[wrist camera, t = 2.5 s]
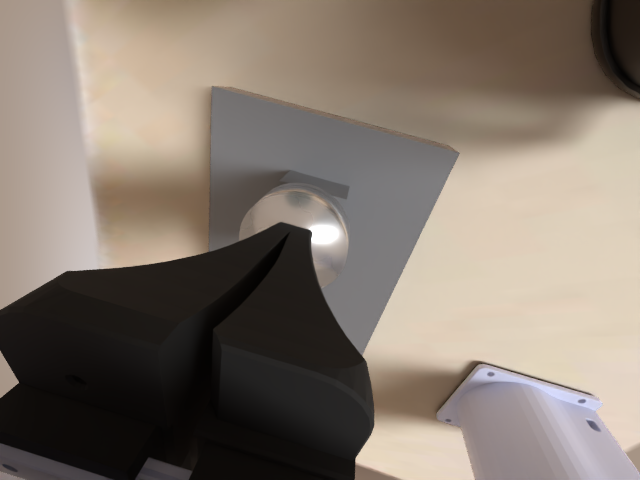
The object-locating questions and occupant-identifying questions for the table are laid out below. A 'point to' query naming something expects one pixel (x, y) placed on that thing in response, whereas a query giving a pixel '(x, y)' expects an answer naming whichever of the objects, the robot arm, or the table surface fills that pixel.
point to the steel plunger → (305, 223)
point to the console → (328, 189)
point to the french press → (618, 41)
